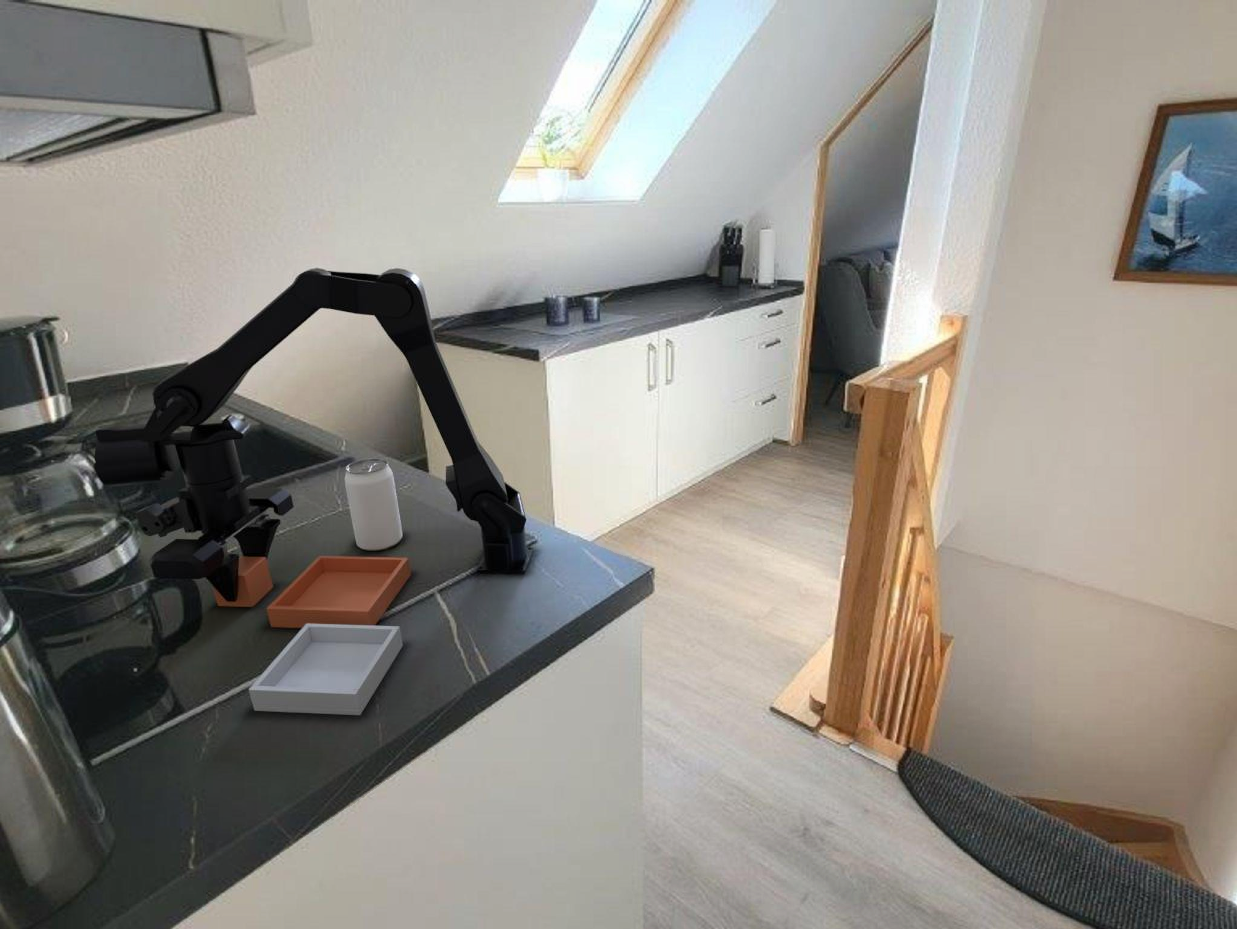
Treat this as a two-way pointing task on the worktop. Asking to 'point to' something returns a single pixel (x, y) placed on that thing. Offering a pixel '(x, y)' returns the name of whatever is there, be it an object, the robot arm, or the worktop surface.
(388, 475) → the can
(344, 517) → the worktop surface
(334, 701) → the steel tray
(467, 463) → the robot arm
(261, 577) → the block
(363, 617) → the terracotta tray
